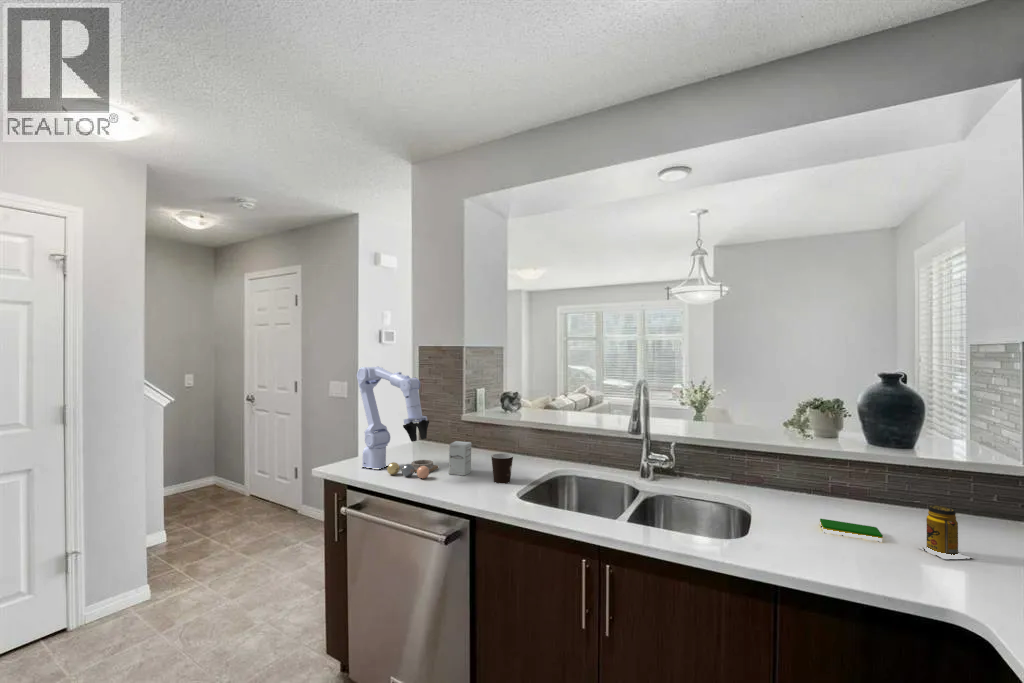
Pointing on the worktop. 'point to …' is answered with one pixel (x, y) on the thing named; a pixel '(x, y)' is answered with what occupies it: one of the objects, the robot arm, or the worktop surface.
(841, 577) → the worktop surface
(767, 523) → the worktop surface
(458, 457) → the supplement box
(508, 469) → the coffee mug
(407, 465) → the steel ball
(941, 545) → the condiment
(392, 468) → the brass ball
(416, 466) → the race board
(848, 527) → the dish sponge
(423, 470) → the terracotta ball
